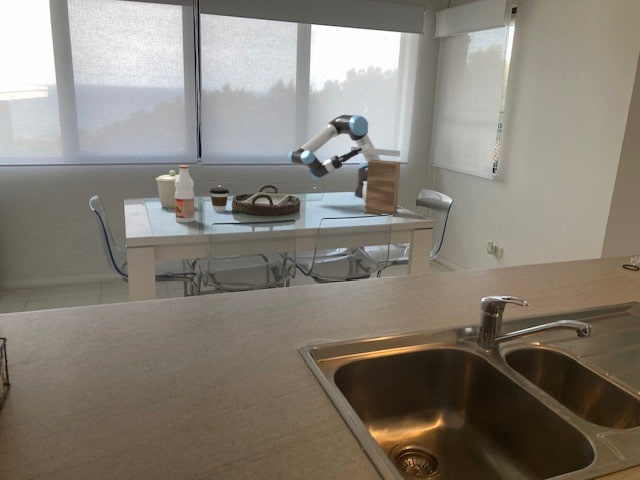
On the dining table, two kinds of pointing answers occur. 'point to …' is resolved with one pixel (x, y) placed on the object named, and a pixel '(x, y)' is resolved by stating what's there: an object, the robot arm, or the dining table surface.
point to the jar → (364, 192)
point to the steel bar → (379, 152)
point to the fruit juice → (184, 196)
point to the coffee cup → (219, 198)
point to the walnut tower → (382, 187)
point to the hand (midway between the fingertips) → (368, 145)
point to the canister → (167, 189)
